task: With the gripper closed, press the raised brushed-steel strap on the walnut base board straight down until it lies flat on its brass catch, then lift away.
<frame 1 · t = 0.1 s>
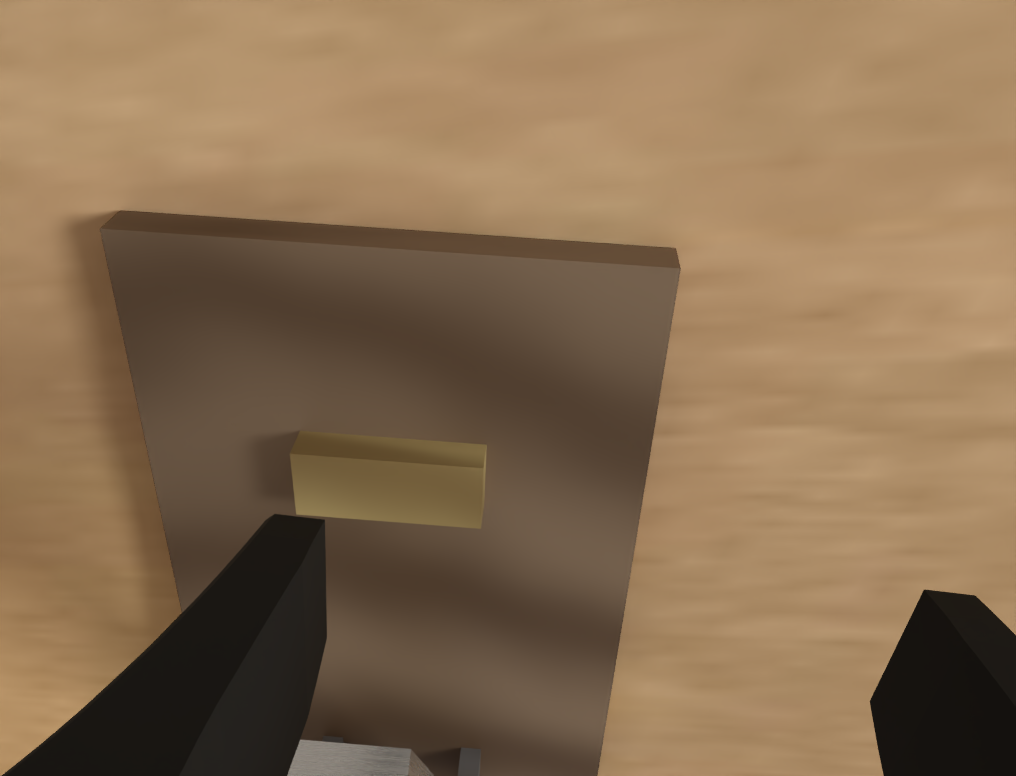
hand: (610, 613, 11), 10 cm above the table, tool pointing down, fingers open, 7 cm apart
base board: (403, 569, 25), on the table
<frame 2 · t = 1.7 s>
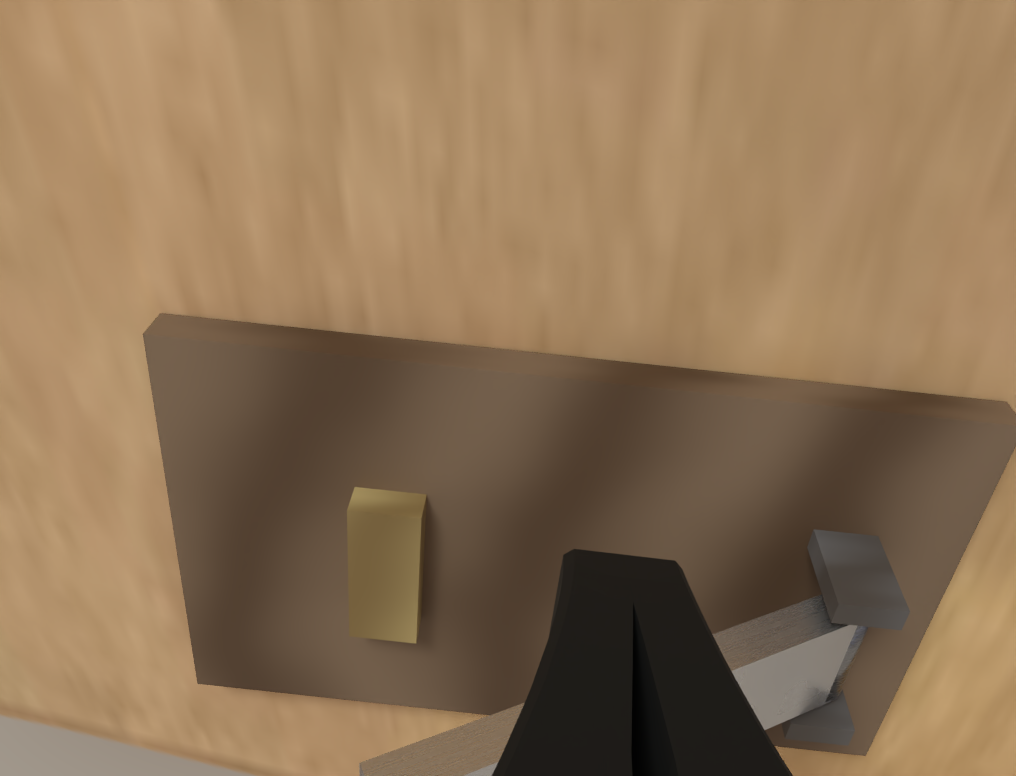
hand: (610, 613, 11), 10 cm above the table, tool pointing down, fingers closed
base board: (553, 547, 24), on the table
strap: (640, 723, 20), point 5 cm above the table, hinge at 30.0°
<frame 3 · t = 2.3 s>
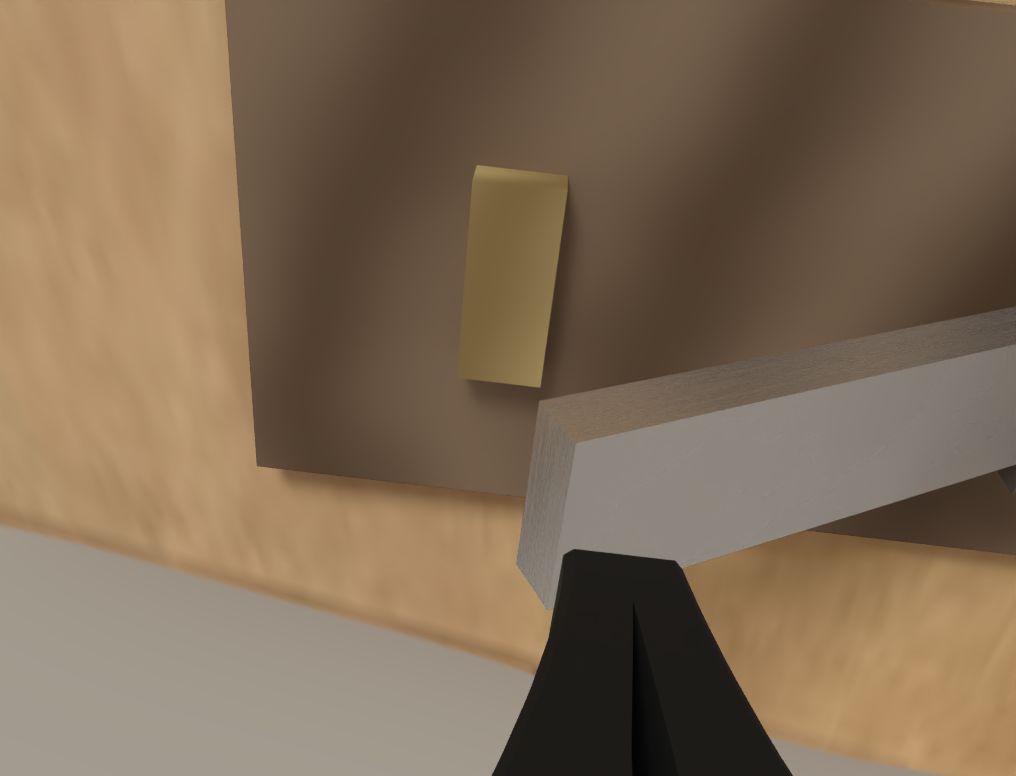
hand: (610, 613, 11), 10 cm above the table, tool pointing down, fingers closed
base board: (709, 275, 20), on the table
strap: (869, 425, 15), point 5 cm above the table, hinge at 30.0°
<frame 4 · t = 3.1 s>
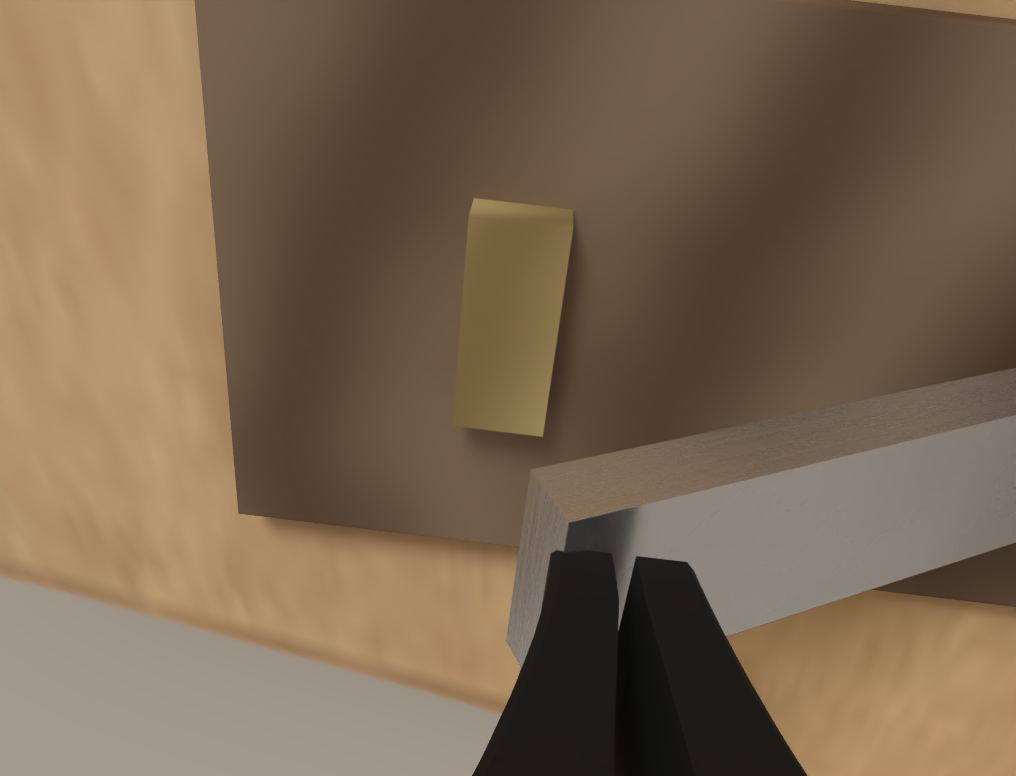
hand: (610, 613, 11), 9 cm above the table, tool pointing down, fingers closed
base board: (726, 314, 18), on the table
strap: (901, 489, 14), point 5 cm above the table, hinge at 28.5°, touching gripper
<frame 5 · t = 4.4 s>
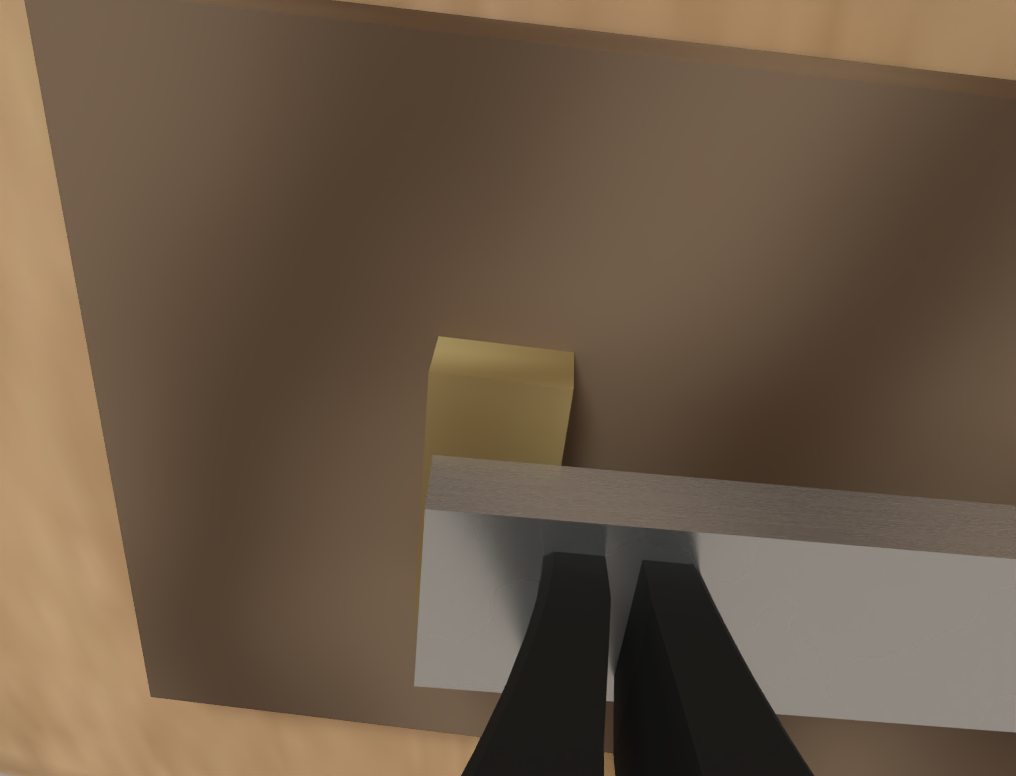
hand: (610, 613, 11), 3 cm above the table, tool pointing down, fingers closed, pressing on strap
base board: (774, 468, 14), on the table
strap: (914, 614, 11), point 3 cm above the table, hinge at 3.0°, touching gripper
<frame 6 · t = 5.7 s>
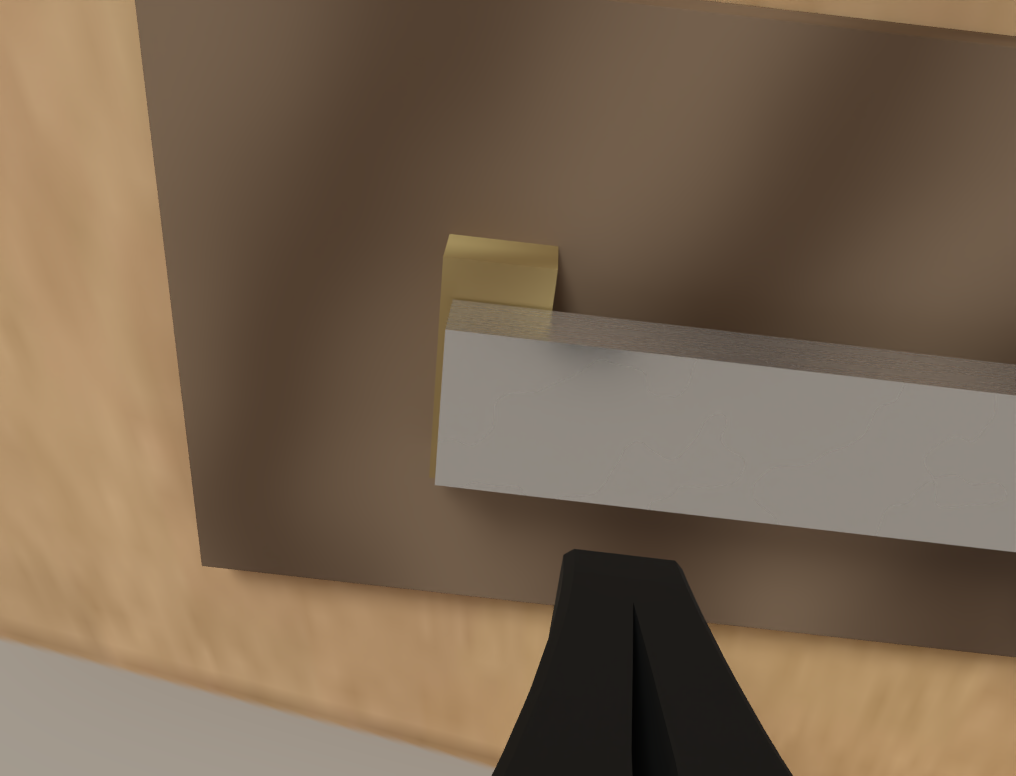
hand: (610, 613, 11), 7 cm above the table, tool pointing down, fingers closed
base board: (724, 353, 17), on the table
strap: (823, 438, 15), point 2 cm above the table, hinge at -0.2°
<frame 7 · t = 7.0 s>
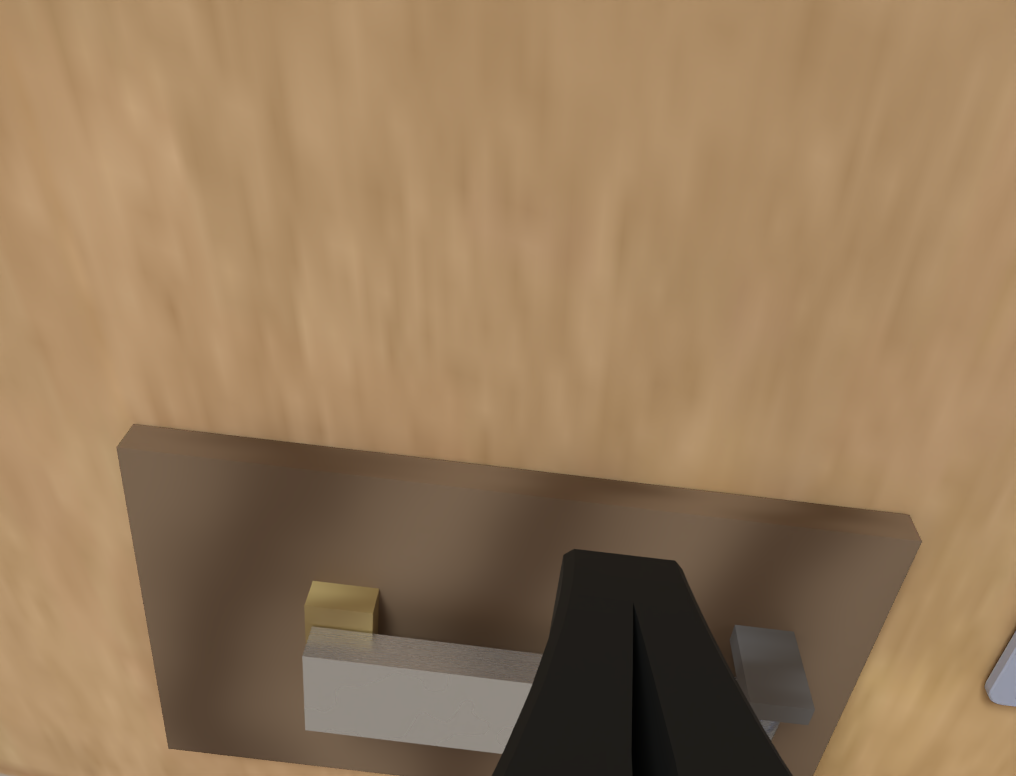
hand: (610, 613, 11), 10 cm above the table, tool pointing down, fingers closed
base board: (499, 631, 26), on the table
strap: (540, 707, 24), point 2 cm above the table, hinge at -0.2°
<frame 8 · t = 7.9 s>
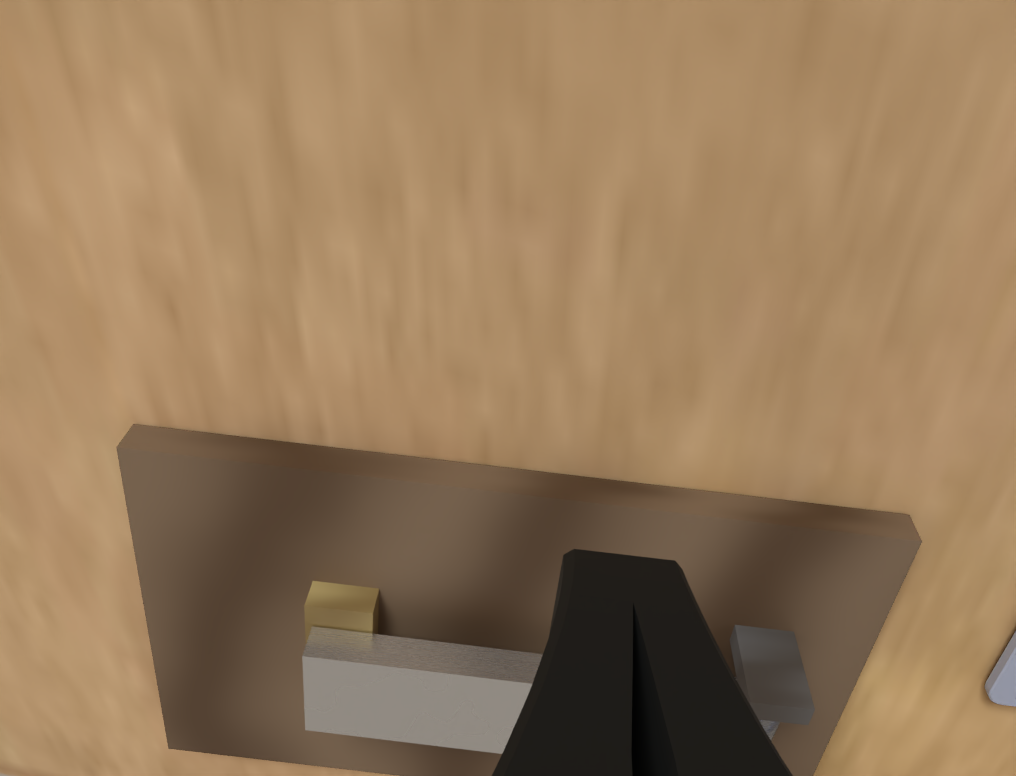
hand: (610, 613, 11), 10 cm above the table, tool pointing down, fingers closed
base board: (499, 631, 26), on the table
strap: (540, 707, 24), point 2 cm above the table, hinge at -0.2°
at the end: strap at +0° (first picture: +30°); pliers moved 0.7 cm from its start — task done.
